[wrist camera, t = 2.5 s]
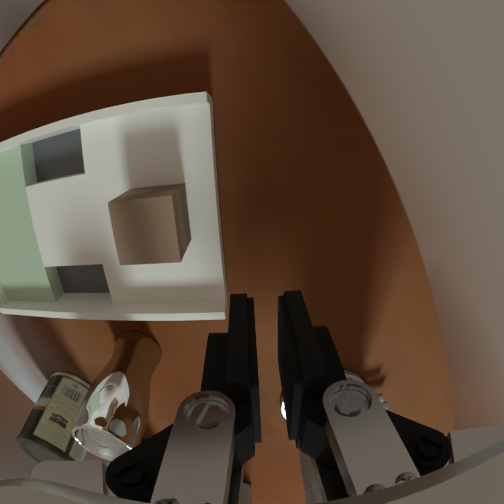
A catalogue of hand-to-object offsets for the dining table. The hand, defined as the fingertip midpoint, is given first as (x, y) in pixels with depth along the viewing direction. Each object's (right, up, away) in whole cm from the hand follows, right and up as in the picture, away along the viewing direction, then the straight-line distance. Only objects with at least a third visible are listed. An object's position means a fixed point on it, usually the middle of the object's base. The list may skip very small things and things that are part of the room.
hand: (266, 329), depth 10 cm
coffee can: (-29, -20, +29) cm, 46 cm away
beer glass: (-15, -9, +24) cm, 30 cm away
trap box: (-19, +6, +17) cm, 26 cm away
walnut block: (-8, +6, +15) cm, 18 cm away
